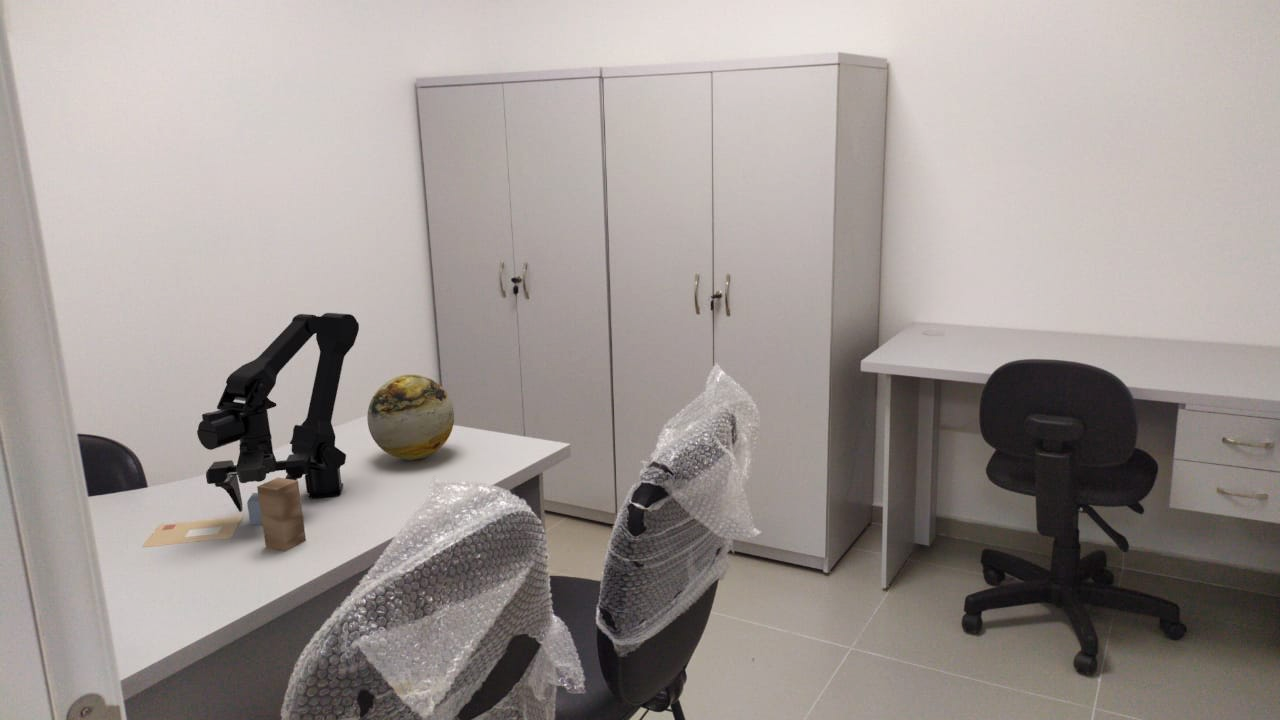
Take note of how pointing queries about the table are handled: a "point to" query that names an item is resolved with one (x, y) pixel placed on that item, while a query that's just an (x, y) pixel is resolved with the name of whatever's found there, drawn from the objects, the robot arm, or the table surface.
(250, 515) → the slate-blue cube
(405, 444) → the decorative sphere
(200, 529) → the kraft envelope
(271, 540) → the walnut block
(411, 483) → the table surface
